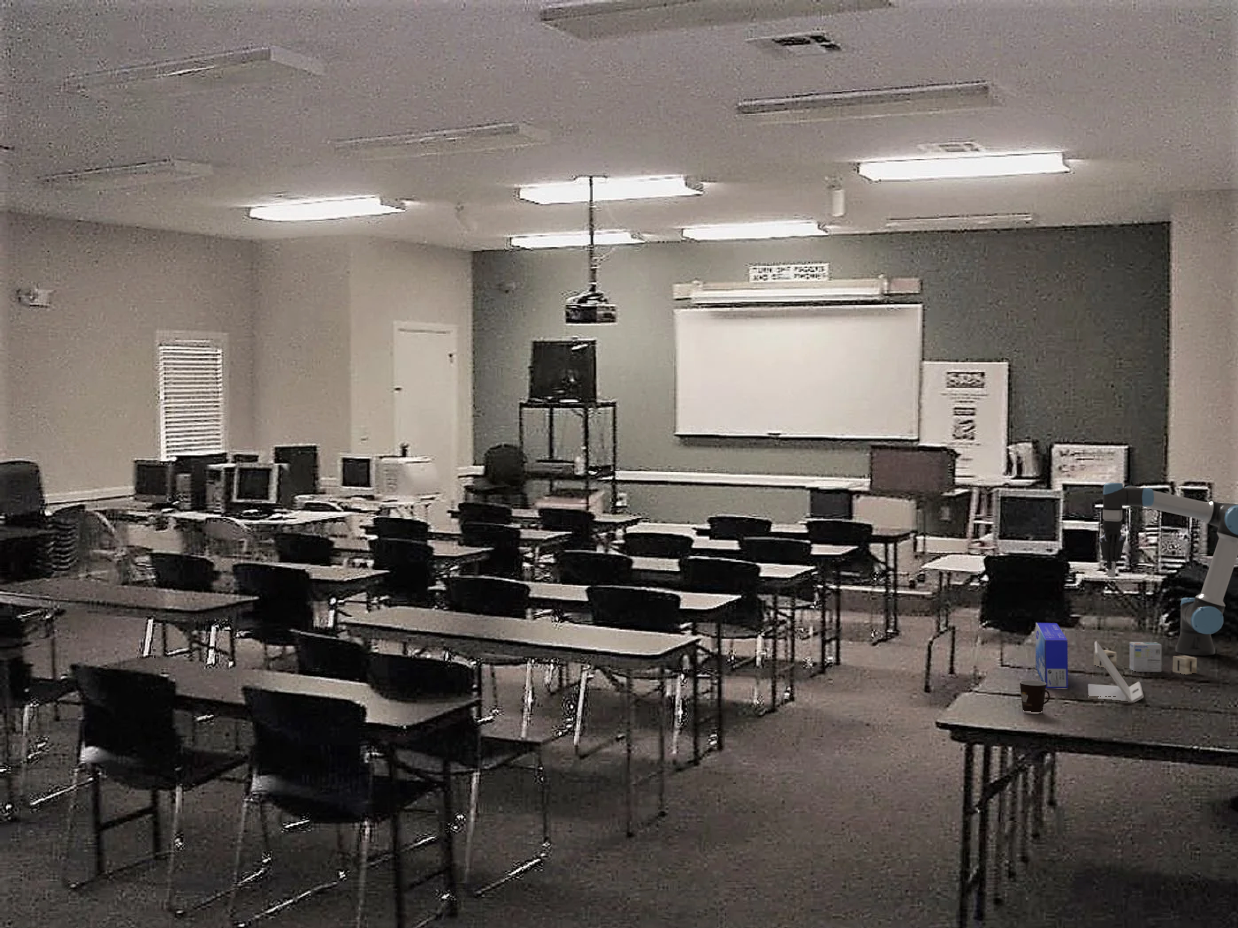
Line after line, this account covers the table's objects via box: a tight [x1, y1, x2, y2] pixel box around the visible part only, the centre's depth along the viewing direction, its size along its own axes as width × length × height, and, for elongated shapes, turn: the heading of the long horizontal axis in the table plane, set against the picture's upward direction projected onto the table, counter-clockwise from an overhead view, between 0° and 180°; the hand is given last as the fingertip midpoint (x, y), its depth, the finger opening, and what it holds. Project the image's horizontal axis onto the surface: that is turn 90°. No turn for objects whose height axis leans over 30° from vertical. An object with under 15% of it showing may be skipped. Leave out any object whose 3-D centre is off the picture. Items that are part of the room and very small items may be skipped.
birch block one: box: [1172, 655, 1198, 675], centre depth 520 cm, size 6×6×6 cm
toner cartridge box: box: [1035, 622, 1069, 689], centre depth 507 cm, size 39×8×18 cm, turn 168°
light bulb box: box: [1129, 641, 1162, 673], centre depth 524 cm, size 11×7×11 cm, turn 85°
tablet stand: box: [1087, 640, 1144, 703], centre depth 480 cm, size 18×25×17 cm
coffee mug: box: [1019, 679, 1051, 712], centre depth 449 cm, size 12×9×10 cm
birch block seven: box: [1093, 649, 1117, 669], centre depth 532 cm, size 6×6×6 cm
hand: (1111, 577), depth 554 cm, fingers closed
